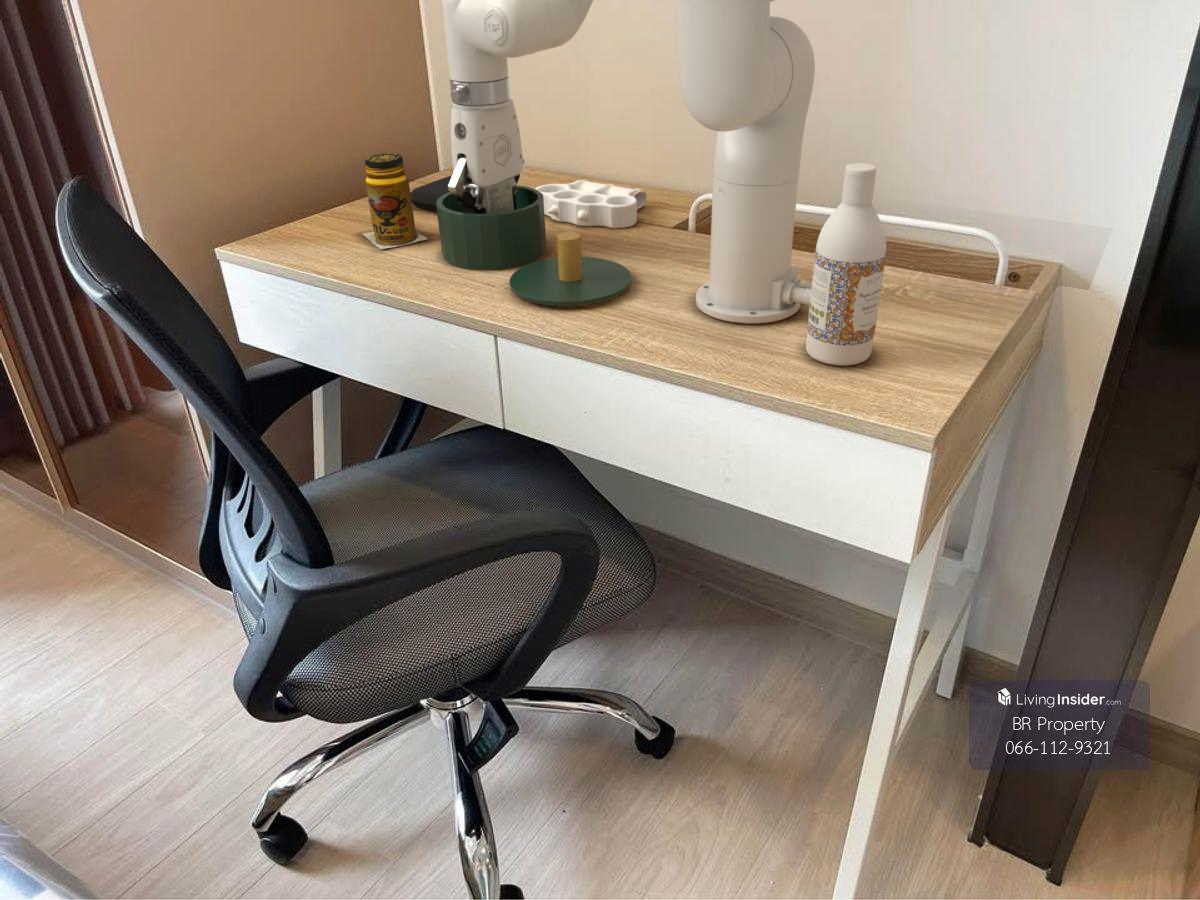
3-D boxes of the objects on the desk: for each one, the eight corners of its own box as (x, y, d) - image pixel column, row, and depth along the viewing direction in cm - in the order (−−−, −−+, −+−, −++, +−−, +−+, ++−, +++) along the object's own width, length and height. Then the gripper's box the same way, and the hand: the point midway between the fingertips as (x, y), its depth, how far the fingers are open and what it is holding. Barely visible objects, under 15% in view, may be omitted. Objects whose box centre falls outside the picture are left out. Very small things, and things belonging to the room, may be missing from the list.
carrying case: (460, 184, 158) (399, 207, 148) (458, 167, 157) (396, 188, 147) (507, 193, 153) (448, 217, 143) (506, 175, 152) (446, 198, 141)
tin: (566, 244, 131) (563, 191, 127) (506, 277, 121) (501, 221, 117) (485, 229, 138) (480, 179, 134) (421, 259, 127) (414, 206, 123)
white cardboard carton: (497, 240, 132) (491, 169, 126) (518, 246, 129) (513, 174, 124) (470, 250, 128) (462, 178, 123) (491, 256, 126) (485, 183, 121)
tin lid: (653, 276, 119) (653, 226, 116) (590, 319, 108) (588, 265, 104) (554, 257, 126) (551, 210, 123) (485, 296, 115) (480, 245, 111)
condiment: (381, 250, 131) (367, 165, 124) (361, 235, 137) (348, 153, 130) (428, 240, 134) (418, 157, 127) (407, 225, 140) (396, 145, 134)
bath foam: (838, 373, 95) (863, 180, 84) (791, 350, 100) (809, 164, 89) (884, 356, 98) (913, 167, 87) (837, 334, 103) (859, 153, 92)
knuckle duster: (664, 209, 143) (612, 236, 133) (571, 193, 152) (516, 217, 142) (664, 188, 142) (611, 213, 132) (570, 173, 151) (515, 195, 140)
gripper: (461, 108, 110) (475, 251, 119) (542, 83, 122) (549, 215, 132) (414, 102, 113) (431, 243, 123) (497, 79, 126) (507, 208, 135)
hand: (492, 227), depth 127 cm, fingers open, 6 cm apart
